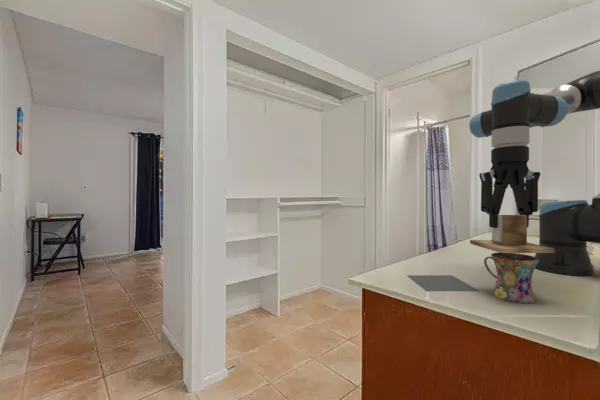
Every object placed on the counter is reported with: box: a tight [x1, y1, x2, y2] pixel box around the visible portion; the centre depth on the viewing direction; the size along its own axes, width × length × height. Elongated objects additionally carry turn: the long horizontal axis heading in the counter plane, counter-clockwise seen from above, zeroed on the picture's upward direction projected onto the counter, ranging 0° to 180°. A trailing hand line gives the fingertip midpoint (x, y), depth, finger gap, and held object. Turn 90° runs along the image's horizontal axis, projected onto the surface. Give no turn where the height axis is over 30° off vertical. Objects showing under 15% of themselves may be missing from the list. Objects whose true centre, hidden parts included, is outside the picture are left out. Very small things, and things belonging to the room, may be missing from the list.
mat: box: [406, 274, 480, 292], centre depth 81 cm, size 14×14×1 cm
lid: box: [469, 214, 554, 254], centre depth 70 cm, size 12×12×8 cm
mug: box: [483, 252, 539, 304], centre depth 71 cm, size 12×9×11 cm
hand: (508, 240), depth 70 cm, fingers closed on lid, 5 cm apart
